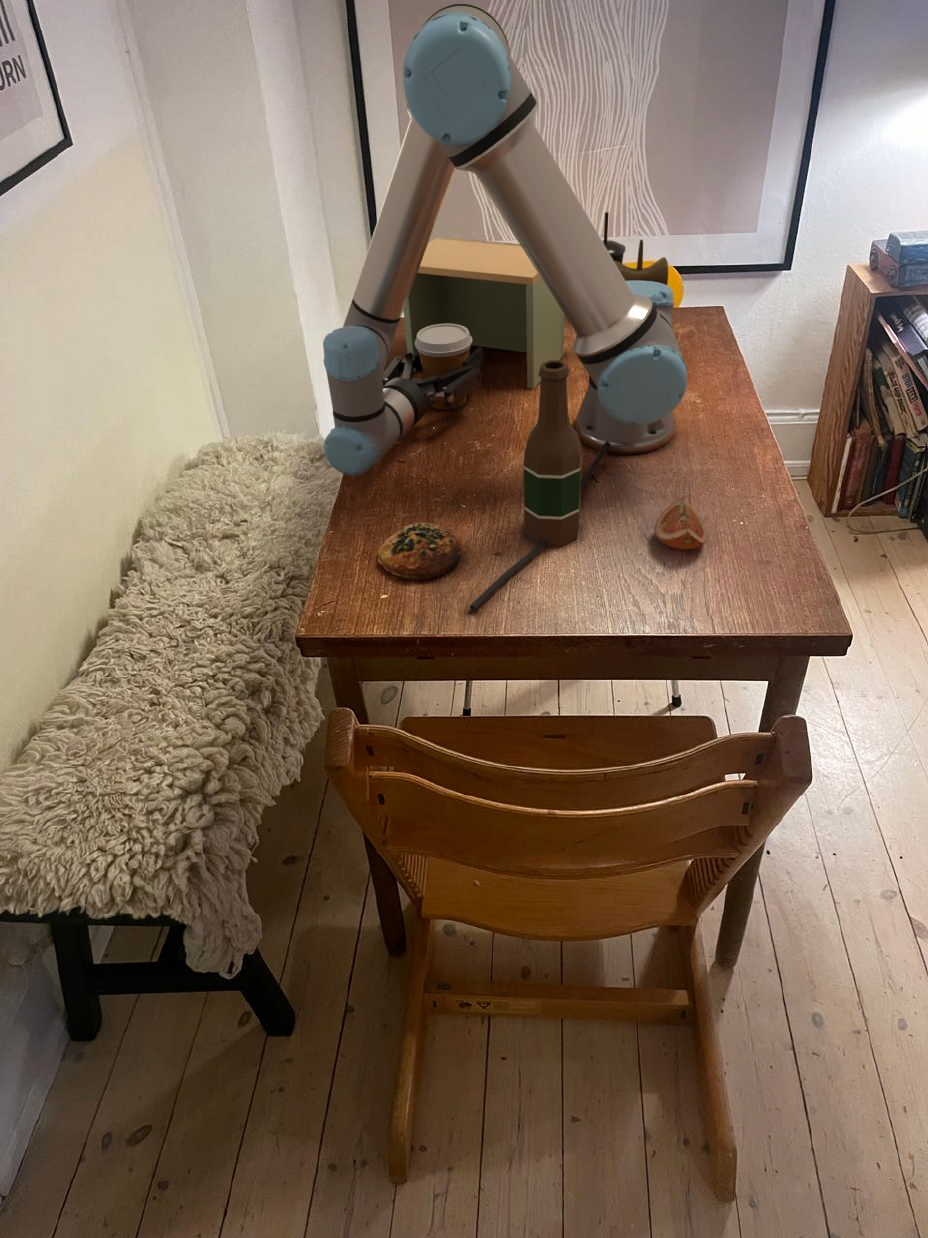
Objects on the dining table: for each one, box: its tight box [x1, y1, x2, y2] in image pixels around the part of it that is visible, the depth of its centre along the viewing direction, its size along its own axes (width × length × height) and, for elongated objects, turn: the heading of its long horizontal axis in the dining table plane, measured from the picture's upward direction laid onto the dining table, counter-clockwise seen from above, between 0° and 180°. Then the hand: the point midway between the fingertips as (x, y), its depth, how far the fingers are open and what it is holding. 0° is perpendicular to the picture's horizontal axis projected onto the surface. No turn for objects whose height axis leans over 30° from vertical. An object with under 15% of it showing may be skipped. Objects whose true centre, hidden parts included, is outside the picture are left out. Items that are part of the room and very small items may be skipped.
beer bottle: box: [523, 360, 583, 548], centre depth 116 cm, size 8×8×24 cm
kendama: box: [614, 239, 669, 286], centre depth 162 cm, size 6×10×20 cm, turn 89°
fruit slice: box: [654, 496, 708, 550], centre depth 118 cm, size 8×7×5 cm
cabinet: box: [403, 236, 565, 390], centre depth 162 cm, size 15×24×19 cm, turn 65°
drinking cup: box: [601, 211, 627, 264], centre depth 174 cm, size 8×8×20 cm
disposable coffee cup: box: [415, 324, 472, 410], centre depth 152 cm, size 10×10×12 cm
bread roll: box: [377, 522, 462, 580], centre depth 120 cm, size 11×11×5 cm
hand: (457, 351), depth 155 cm, fingers closed on disposable coffee cup, 8 cm apart
